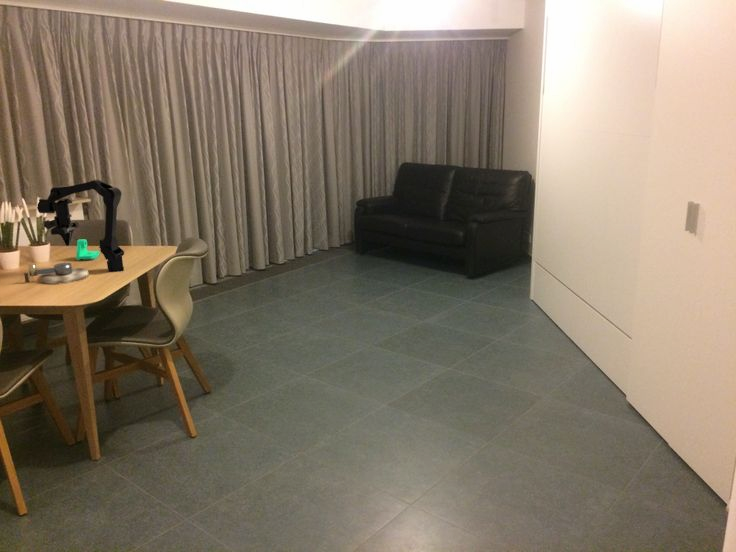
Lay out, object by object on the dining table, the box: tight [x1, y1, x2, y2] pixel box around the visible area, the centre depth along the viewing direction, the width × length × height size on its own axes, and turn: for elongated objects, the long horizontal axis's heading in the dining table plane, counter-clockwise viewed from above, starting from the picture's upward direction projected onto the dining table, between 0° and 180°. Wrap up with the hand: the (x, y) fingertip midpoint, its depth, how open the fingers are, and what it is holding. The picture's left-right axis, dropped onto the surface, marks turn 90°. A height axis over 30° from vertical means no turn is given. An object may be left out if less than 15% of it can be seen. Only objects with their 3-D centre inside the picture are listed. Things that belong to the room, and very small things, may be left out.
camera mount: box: [75, 238, 101, 261], centre depth 297 cm, size 12×8×10 cm, turn 6°
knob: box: [27, 262, 73, 277], centre depth 258 cm, size 17×7×6 cm, turn 118°
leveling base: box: [23, 267, 90, 285], centre depth 260 cm, size 26×20×4 cm
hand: (67, 245), depth 272 cm, fingers closed
